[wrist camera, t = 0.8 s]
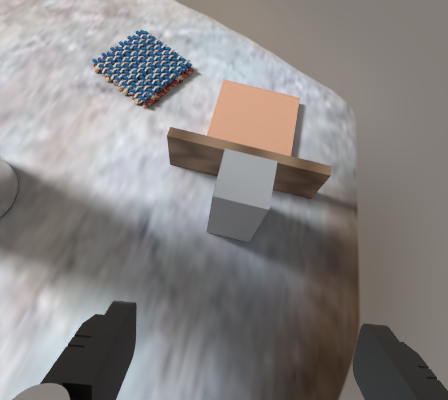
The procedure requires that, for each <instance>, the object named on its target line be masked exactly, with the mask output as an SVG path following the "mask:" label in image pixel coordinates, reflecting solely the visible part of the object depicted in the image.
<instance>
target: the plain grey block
mask: <svg viewBox="0 0 448 400" xmlns="http://www.w3.org/2000/svg"><path fill="white" fill-rule="evenodd" d="M277 162H278V161H274V160H270V159H266V158H262V157H258V156H254V155H250V154H246V153H242V152H238V151H233V150H229V149H225V150H224V154H223V158H222V162H221V166H220V170H219V173H218V177H217V181H216V185H215V189H214V193H213V197H212V203H211V209H210V215H209V221H208V227H207V232H208V233H213V234H217V235H221V236H225V237H229V238H233V239H237V240H241V241H245V242H250V240H251V239H252V237H253V235H254V234H255V232H256V230H257V229H258V227H259V226H260V224H261V222H262V221H263V219H264V218H265V216H266V214H267V213H268V211H269V208H270V202H271V197H272V191H273V185H274V179H275V174H276V168H277Z"/></svg>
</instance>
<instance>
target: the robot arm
mask: <svg viewBox="0 0 448 400" xmlns="http://www.w3.org/2000/svg"><path fill="white" fill-rule="evenodd" d="M17 191H18V179H17V176H16V174H15V171H14V170H13V169H12V168H11V166H10V165H9V164H8V163H7V162H6V161H5V160H4V159H3V158H2V157H1V156H0V217H1V216H2V215H3V214H4V213H5V212H6V211H7V210H8V209H9V208H10V207H11V205H12V203H13V201H14V200H15V197H16V194H17ZM135 343H136V303H135V302H123V301H113V302H112V304H111V305H110V307H109V309H108V310H107V312H106V313H105V315H98V314H95V315H94V316H92V317H91V318H90V319H88V320H87V321H85V322H84V323H83V324H82V325H81V327H80V328H79V329H78V331H77V332H76V334H75V336H74V337H73V338H72V339H71V341H70V342H69V344H68V347H66V348H65V349H64V351H63V352H62V354H61V355H60V356H59V358H58V359H57V361H56V362H55V364H54V365H53V366H52V368H51V369H50V371H49V372H48V373H47V375H46V376H45V378H44V379H43V381H42V382H41V383H40V384H39V385H36V386H33V387H30V388H28V389H26V390H24V391H23V392H21V393H20V394H18V395H17V396H16V397H15V398H13V399H12V400H116V398H117V396H118V393H119V391H120V388H121V386H122V383H123V381H124V378H125V375H126V373H127V370H128V368H129V365H130V363H131V360H132V358H133V354H134V350H135ZM353 372H354V377H355V380H356V382H357V384H358V386H359V388H360V390H361V392H362V394H363V396H364V398H365V400H448V391H447V390H446V388H445V387H444V386H443V385H442V383H441V382H440V381H439V380H437V377H436V376H435V375H434V373H433V372H432V371H431V369H428V366H427V364H426V363H425V362H424V361H423V359H422V358H421V357H420V356H419V354H418V353H416V352H415V351H414V350H413V349H411V348H410V347H409V346H407V345H406V344H405V343H404V342H399V340H398V339H397V338H396V336H395V335H394V334H393V332H392V331H391V330H390V329H389V327H388V326H385V325H374V324H363V325H362V326H361V329H360V333H359V337H358V341H357V346H356V350H355V354H354V358H353Z"/></svg>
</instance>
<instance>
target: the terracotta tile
mask: <svg viewBox="0 0 448 400" xmlns="http://www.w3.org/2000/svg"><path fill="white" fill-rule="evenodd" d="M299 100H300V98H298V97H293V96H289V95H285V94H281V93H277V92H273V91H269V90H265V89H261V88H257V87H252V86H248V85H244V84H240V83H236V82H232V81H228V80H223V83H222V87H221V90H220V94H219V97H218V100H217V104H216V107H215V110H214V114H213V117H212V121H211V124H210V127H209V131H208V134H207V136H209V137H213V138H217V139H222V140H226V141H230V142H234V143H238V144H242V145H246V146H250V147H254V148H259V149H263V150H267V151H271V152H275V153H279V154H283V155H287V156H291V152H292V146H293V139H294V133H295V126H296V119H297V113H298V106H299Z"/></svg>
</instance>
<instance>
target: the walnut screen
mask: <svg viewBox="0 0 448 400" xmlns="http://www.w3.org/2000/svg"><path fill="white" fill-rule="evenodd" d="M167 139H168V148H169V158H170V164H171V165H175V166H179V167H184V168H188V169H192V170H196V171H200V172H204V173H208V174H212V175H216V176H218V173H219V170H220V166H221V162H222V158H223V154H224V150H225V149H229V150H233V151H238V152H242V153H246V154H250V155H254V156H258V157H262V158H266V159H270V160H274V161H278V162H277V168H276V174H275V179H274V185H273V189H274V190H278V191H282V192H286V193H290V194H295V195H299V196H303V197H307V198H312V197H313V196H314V195H315V193H316V192H317V191H318V190H319V189H320V188H321V186H322V185H323V184H324V183H325V182H326V181H327V179H328V178H329V177H330V176H331V167H332V166H328V165H324V164H320V163H316V162H312V161H308V160H304V159H300V158H296V157H291V156H287V155H283V154H279V153H275V152H271V151H267V150H263V149H259V148H254V147H250V146H246V145H242V144H238V143H234V142H230V141H226V140H222V139H217V138H213V137H209V136H205V135H201V134H197V133H193V132H189V131H185V130H181V129H176V128H172V127H170V129H169V132H168V135H167Z"/></svg>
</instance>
